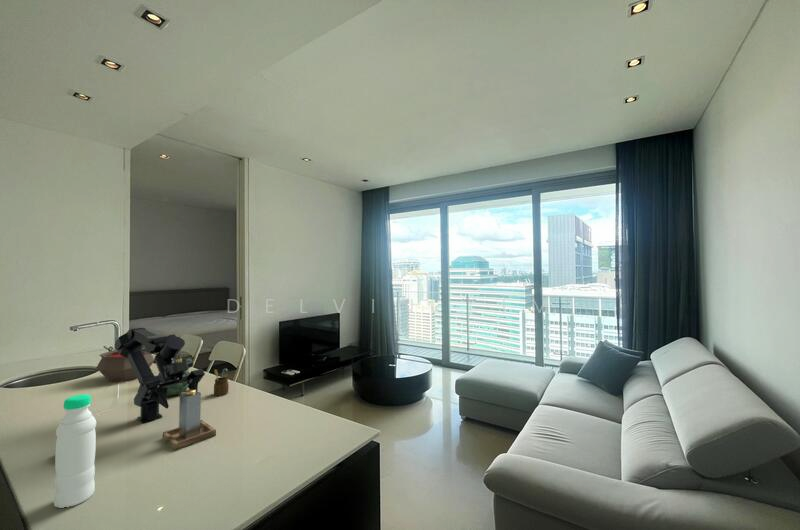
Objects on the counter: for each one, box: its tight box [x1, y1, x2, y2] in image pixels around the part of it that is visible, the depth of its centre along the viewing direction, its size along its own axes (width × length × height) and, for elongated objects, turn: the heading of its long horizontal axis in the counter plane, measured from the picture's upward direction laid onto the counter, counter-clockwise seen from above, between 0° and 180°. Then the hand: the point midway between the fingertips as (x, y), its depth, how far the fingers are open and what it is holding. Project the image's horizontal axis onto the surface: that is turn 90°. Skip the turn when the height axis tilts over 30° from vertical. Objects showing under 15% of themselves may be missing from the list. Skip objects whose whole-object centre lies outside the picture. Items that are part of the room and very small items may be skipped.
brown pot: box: [95, 346, 155, 383], centre depth 172 cm, size 24×24×16 cm
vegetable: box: [166, 370, 191, 398], centre depth 150 cm, size 12×13×15 cm
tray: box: [162, 419, 217, 452], centre depth 109 cm, size 12×12×2 cm
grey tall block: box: [178, 389, 202, 439], centre depth 110 cm, size 4×4×15 cm
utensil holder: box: [213, 368, 230, 397], centre depth 149 cm, size 6×6×12 cm
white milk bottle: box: [53, 393, 97, 509], centre depth 79 cm, size 7×7×25 cm
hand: (182, 403), depth 112 cm, fingers open, 9 cm apart
